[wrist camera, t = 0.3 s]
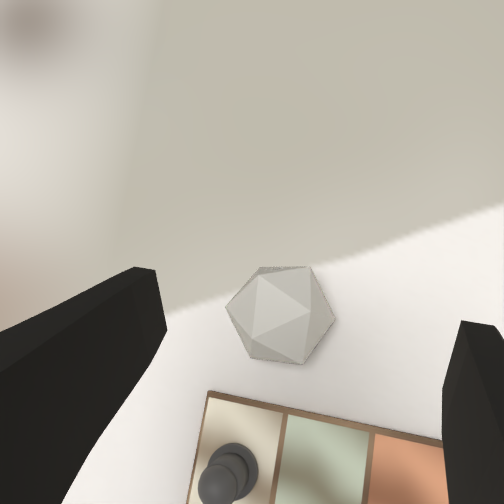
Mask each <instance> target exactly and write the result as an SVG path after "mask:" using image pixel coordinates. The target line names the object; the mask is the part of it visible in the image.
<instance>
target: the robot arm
mask: <svg viewBox="0 0 504 504" xmlns="http://www.w3.org/2000/svg"><path fill="white" fill-rule="evenodd" d="M166 332H167V326H166V321H165V316H164V311H163V306H162V301H161V296H160V291H159V287H158V282H157V277H156V272H155V270H152V269H146V268H139V267H133V268H130V269H128V270H126V271H124V272H121V273H119V274H117V275H115V276H113V277H111V278H109V279H107V280H105V281H103V282H101V283H99V284H97V285H96V286H94V287H92V288H90V289H88V290H86V291H84V292H82V293H80V294H78V295H76V296H74V297H72V298H70V299H68V300H67V301H64V302H63V303H60V304H59V305H57V306H55V307H53V308H50V309H48V310H46V311H44V312H42V313H40V314H38V315H36V316H34V317H31V318H30V319H28V320H25V321H23V322H21V323H19V324H17V325H15V326H13V327H10V328H8V329H6V330H4V331H1V332H0V504H61V503H62V501H63V499H64V498H65V496H66V494H67V492H68V490H69V488H70V486H71V485H72V483H73V481H74V479H75V478H76V476H77V474H78V472H79V470H80V469H81V467H82V465H83V463H84V462H85V460H86V458H87V456H88V455H89V453H90V451H91V450H92V448H93V447H94V445H95V443H96V442H97V440H98V439H99V437H100V436H101V434H102V433H103V431H104V430H105V429H106V427H107V426H108V424H109V423H110V421H111V420H112V419H113V417H114V416H115V414H116V413H117V411H118V410H119V409H120V407H121V406H122V404H123V403H124V401H125V400H126V399H127V397H128V396H129V394H130V393H131V391H132V390H133V389H134V387H135V386H136V384H137V383H138V381H139V380H140V378H141V377H142V375H143V374H144V372H145V371H146V369H147V368H148V366H149V365H150V363H151V362H152V360H153V358H154V356H155V354H156V352H157V350H158V348H159V346H160V344H161V342H162V340H163V338H164V336H165V334H166ZM442 442H443V452H444V461H445V471H446V481H447V490H448V499H449V504H504V339H503V337H502V336H501V334H500V332H499V331H498V330H497V328H496V327H495V326H493V325H487V324H480V323H474V322H468V321H462V320H461V323H460V327H459V330H458V334H457V338H456V341H455V345H454V348H453V352H452V355H451V359H450V363H449V366H448V370H447V373H446V377H445V380H444V384H443V388H442Z"/></svg>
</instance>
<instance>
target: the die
mask: <svg viewBox="0 0 504 504" xmlns="http://www.w3.org/2000/svg"><path fill="white" fill-rule="evenodd" d="M225 308H226V310H227V312H228V314H229V316H230V318H231V320H232V322H233V324H234V326H235V328H236V330H237V332H238V334H239V336H240V338H241V340H242V342H243V344H244V346H245V348H246V350H247V352H248V354H249V356H250V358H254V359H262V360H270V361H277V362H285V363H293V364H301V365H303V363H304V362H305V360H306V359H307V358H308V356H309V355H310V354H311V352H312V351H313V349H314V348H315V347H316V345H317V344H318V342H319V341H320V340H321V338H322V337H323V335H324V334H325V333H326V331H327V330H328V329H329V327H330V326H331V324H332V323H333V322H334V320H335V317H334V315H333V313H332V311H331V309H330V307H329V305H328V302H327V300H326V298H325V296H324V294H323V292H322V290H321V288H320V286H319V284H318V282H317V280H316V277H315V275H314V273H313V271H312V269H311V267H260V268H259V269H258V270H257V271H256V272H255V274H254V275H253V276H252V277H251V278H250V279H249V280H248V282H247V283H246V284H245V285H244V286H243V287H242V288H241V289H240V291H239V292H238V293H237V294H236V295H235V296H234V297H233V299H232V300H231V301H230V302H229V303H228V304H227V305H226V306H225Z"/></svg>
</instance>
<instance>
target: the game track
mask: <svg viewBox="0 0 504 504" xmlns="http://www.w3.org/2000/svg"><path fill="white" fill-rule="evenodd" d="M228 443H239V444H242V445H244V446H246V447H247V448H248V449H249V450H250V451H251V452H252V453H253V454H254V456H255V458H256V461H257V464H258V478H257V481H256V484H255V486H254V487H253V489H252V490H251V492H250V493H249V494H248V495H247V496H246V497H244V498H242V499H240V500H237V501H234V502H233V503H232V504H449V499H448V490H447V481H446V471H445V461H444V452H443V442H442V441H441V440H436V439H432V438H427V437H422V436H418V435H413V434H409V433H404V432H399V431H395V430H390V429H385V428H381V427H376V426H372V425H367V424H362V423H358V422H353V421H348V420H344V419H339V418H335V417H330V416H325V415H321V414H316V413H311V412H307V411H302V410H298V409H293V408H288V407H284V406H279V405H274V404H270V403H265V402H261V401H256V400H251V399H247V398H242V397H237V396H233V395H228V394H224V393H219V392H214V391H208V392H207V398H206V403H205V408H204V413H203V418H202V424H201V429H200V434H199V439H198V444H197V449H196V455H195V460H194V465H193V470H192V475H191V481H190V486H189V491H188V496H187V501H186V504H203V503H202V501H201V500H200V498H199V495H198V482H199V479H200V476H201V474H202V472H203V471H204V469H205V468H206V467H207V465H208V461H209V459H210V457H211V455H212V454H213V453H214V452H215V451H216V450H217V449H218V448H220V447H221V446H223V445H225V444H228Z"/></svg>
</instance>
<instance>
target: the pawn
mask: <svg viewBox="0 0 504 504" xmlns="http://www.w3.org/2000/svg"><path fill="white" fill-rule="evenodd" d="M257 478H258V464H257V461H256V458H255V456H254V454H253V453H252V452H251V451H250V450H249V449H248V448H247V447H246V446H244V445H242V444H239V443H228V444H225V445H223V446H221V447H220V448H218V449H217V450H216V451H215V452H214V453H213V454H212V455H211V457H210V459H209V461H208V465H207V467H206V468H205V469H204V471H203V472H202V474H201V476H200V479H199V482H198V495H199V498H200V500H201V501H202V503H203V504H232V503H233V502H234V501H237V500H240V499H242V498H244V497H246V496H247V495H248V494H249V493H250V492H251V490H252V489H253V487H254V486H255V484H256V481H257Z"/></svg>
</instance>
